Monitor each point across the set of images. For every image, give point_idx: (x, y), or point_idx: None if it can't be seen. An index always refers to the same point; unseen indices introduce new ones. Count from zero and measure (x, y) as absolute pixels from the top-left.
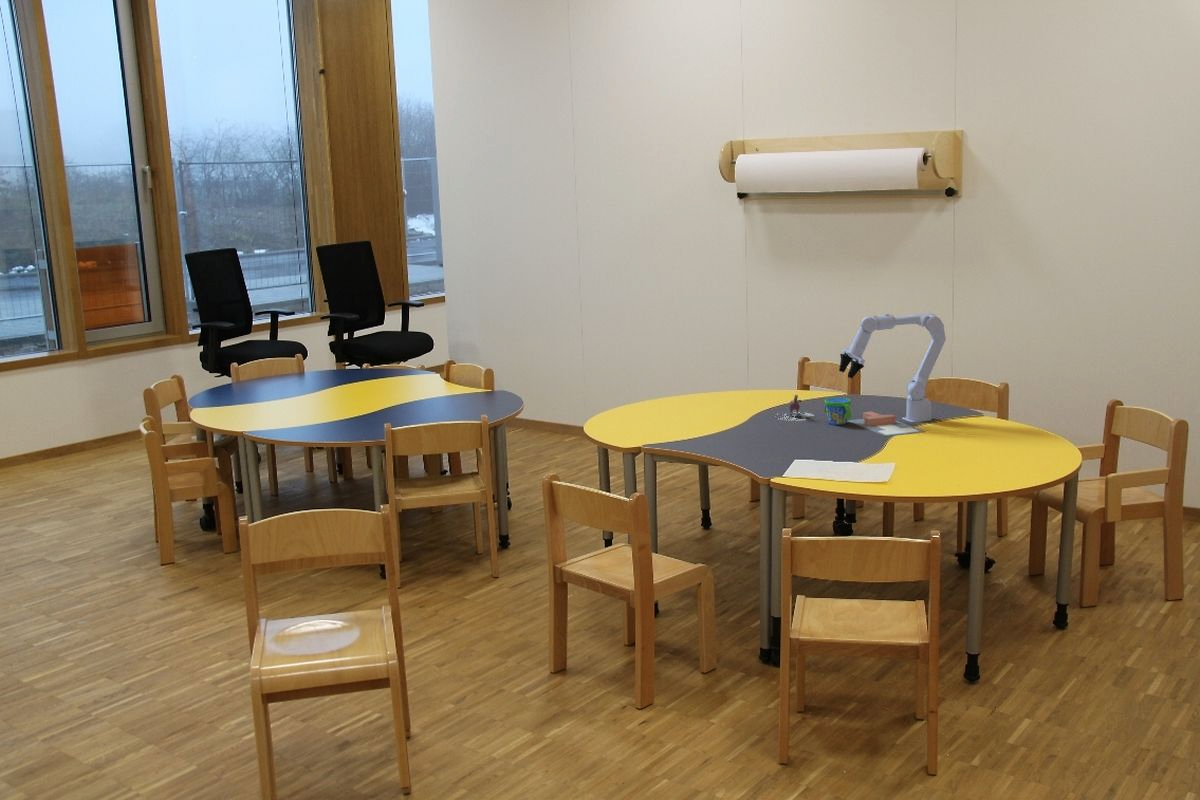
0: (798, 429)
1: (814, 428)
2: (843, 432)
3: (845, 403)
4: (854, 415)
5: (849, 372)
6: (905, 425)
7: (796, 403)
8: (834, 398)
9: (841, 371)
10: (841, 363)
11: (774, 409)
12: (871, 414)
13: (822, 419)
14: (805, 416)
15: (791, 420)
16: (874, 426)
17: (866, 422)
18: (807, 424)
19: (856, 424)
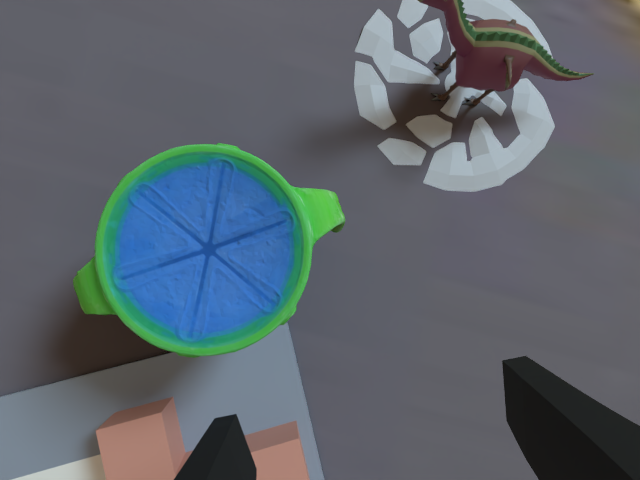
0: (148, 17)
1: (152, 105)
2: (15, 231)
3: (100, 286)
4: (418, 399)
5: (184, 474)
6: None
7: (450, 40)
8: (292, 245)
9: (506, 390)
10: (600, 446)
11: (622, 33)
12: None
13: (357, 205)
14: (436, 135)
15: (361, 41)
16: None
17: (143, 408)
18: (256, 96)
19: None
